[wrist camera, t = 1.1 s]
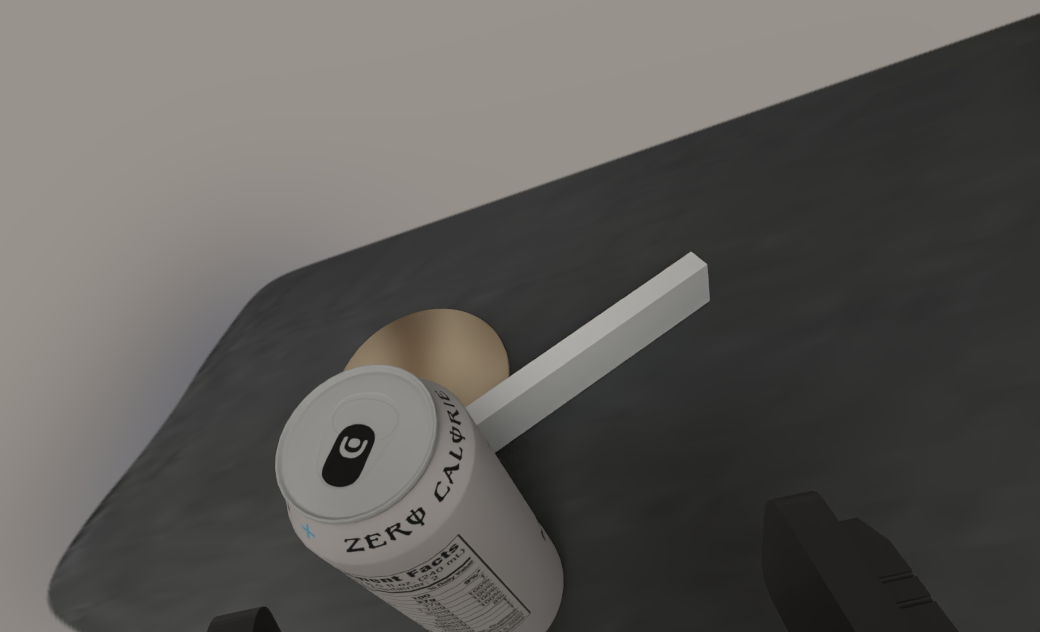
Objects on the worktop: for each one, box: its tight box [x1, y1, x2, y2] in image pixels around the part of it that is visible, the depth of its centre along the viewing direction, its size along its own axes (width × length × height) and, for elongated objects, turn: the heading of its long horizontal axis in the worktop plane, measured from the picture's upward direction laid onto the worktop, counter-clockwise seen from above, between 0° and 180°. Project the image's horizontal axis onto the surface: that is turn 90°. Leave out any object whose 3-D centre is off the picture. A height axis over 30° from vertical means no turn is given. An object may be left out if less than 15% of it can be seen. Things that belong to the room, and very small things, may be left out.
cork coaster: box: [344, 309, 510, 407], centre depth 39 cm, size 10×10×1 cm
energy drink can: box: [275, 364, 564, 632], centre depth 25 cm, size 6×6×15 cm
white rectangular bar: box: [465, 252, 710, 453], centre depth 35 cm, size 21×1×3 cm, turn 122°
